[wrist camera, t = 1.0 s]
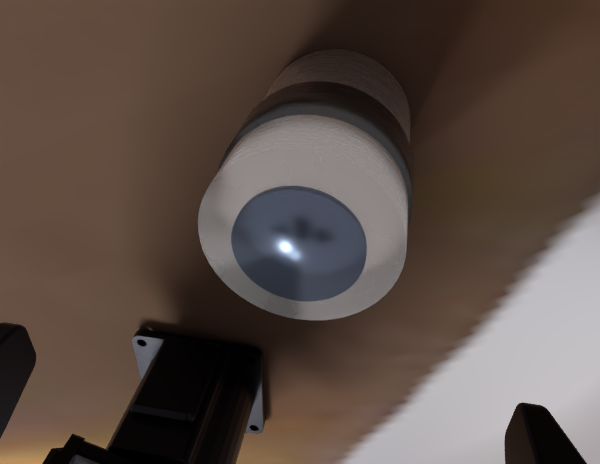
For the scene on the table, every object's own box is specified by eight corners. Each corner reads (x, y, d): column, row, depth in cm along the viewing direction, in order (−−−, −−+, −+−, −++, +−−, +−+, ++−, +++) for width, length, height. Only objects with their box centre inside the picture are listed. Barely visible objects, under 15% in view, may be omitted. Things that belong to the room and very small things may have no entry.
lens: (402, 195, 19) (395, 343, 14) (263, 180, 20) (200, 314, 14) (425, 52, 16) (429, 163, 11) (260, 39, 17) (178, 137, 11)
